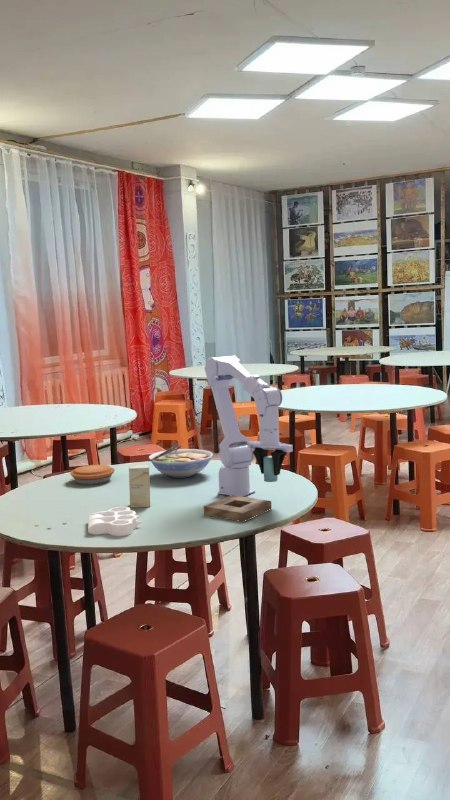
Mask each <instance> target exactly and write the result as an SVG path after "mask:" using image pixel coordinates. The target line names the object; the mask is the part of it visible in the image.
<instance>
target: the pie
mask: <svg viewBox="0 0 450 800" xmlns="http://www.w3.org/2000/svg"><path fill="white" fill-rule="evenodd" d="M115 471H116V470H115V468H114V467H111V466H110V465H106V464H91V465H90V464H89V465H81V466H78V467H76V468H74V469H73V470H72V471H70V473H69V474H70V476H71V477H72V478H73V479H74V480H75V482H76V483H77V484H78V485H82V486H83V485H84V486H92V485H100V484H105V483H108V482H109V481H110V480H111V477H112V476H113V474H114V473H115Z"/></svg>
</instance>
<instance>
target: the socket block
mask: <svg viewBox="0 0 450 800" xmlns="http://www.w3.org/2000/svg"><path fill="white" fill-rule="evenodd" d="M271 508H272V500H269V499H268V500H267V499H261V498H254V497H248V496H243V497H242V496H236V495H231V496H230V495H227V496H226V497H224V498H221V499H219V500H218V499H217V500H216V501H213V502H210V503H209V504H206V505H203V515H204V516H209V517H214V516H215V518H219V517H221V518H220V519H225V518H228V519H227V520H230V519H233V520H232V521H236V520H239V521H238V522H241V521H245V520H247V521H249V520H251V519H250V518H252V517H254V516H256V515H258V516H259V514H260V515H262V514H261V513H263V512H265V511H267V510H269V509H271ZM272 509H273V508H272ZM272 509H271V510H272ZM269 511H270V510H269ZM267 512H268V511H267ZM265 513H266V512H265ZM263 514H264V513H263ZM256 517H257V516H256ZM254 518H255V517H254ZM248 519H249V520H248ZM252 519H253V518H252ZM245 522H246V521H245Z"/></svg>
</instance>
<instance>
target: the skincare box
mask: <svg viewBox="0 0 450 800" xmlns="http://www.w3.org/2000/svg"><path fill="white" fill-rule="evenodd" d="M150 481H151V480H150V464H138V465H137V464H136V465H128V484H129V488H128V489H129V508H130V509H132V508H150V507H151V486H150V485H151V484H150V483H151V482H150Z"/></svg>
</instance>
